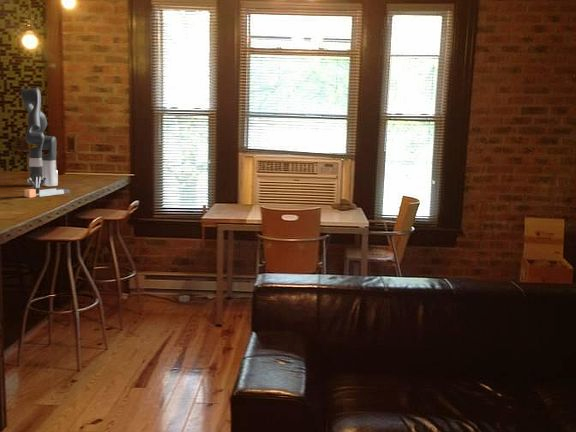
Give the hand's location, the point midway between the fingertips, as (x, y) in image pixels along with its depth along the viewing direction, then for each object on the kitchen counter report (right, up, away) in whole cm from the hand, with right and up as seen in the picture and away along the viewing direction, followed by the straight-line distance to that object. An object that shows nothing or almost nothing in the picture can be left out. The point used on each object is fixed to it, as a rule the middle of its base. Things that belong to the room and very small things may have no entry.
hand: (36, 193), depth 409 cm
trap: (+10, +1, +17) cm, 20 cm away
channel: (+4, 0, +7) cm, 9 cm away
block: (-3, -2, -4) cm, 5 cm away
